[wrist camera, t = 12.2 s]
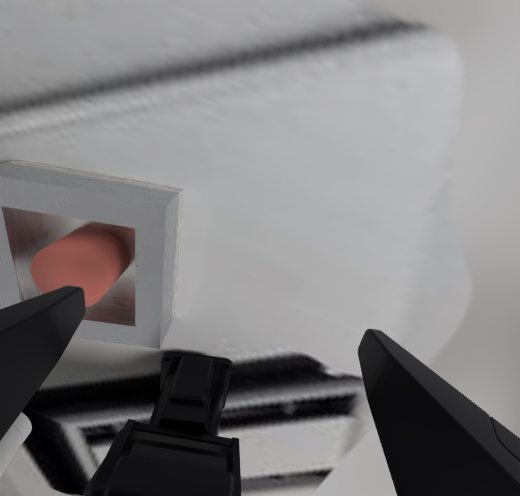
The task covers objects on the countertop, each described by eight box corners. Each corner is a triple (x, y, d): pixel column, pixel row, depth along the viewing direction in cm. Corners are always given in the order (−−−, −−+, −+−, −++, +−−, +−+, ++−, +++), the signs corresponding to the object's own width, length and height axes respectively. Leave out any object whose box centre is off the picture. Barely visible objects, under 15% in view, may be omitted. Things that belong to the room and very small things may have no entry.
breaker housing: (174, 314, 24) (159, 348, 20) (41, 295, 23) (0, 328, 20) (183, 189, 20) (166, 205, 16) (18, 160, 19) (-40, 169, 15)
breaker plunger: (128, 285, 21) (106, 312, 18) (68, 276, 21) (36, 302, 18) (127, 231, 19) (103, 252, 16) (61, 221, 19) (25, 240, 16)
